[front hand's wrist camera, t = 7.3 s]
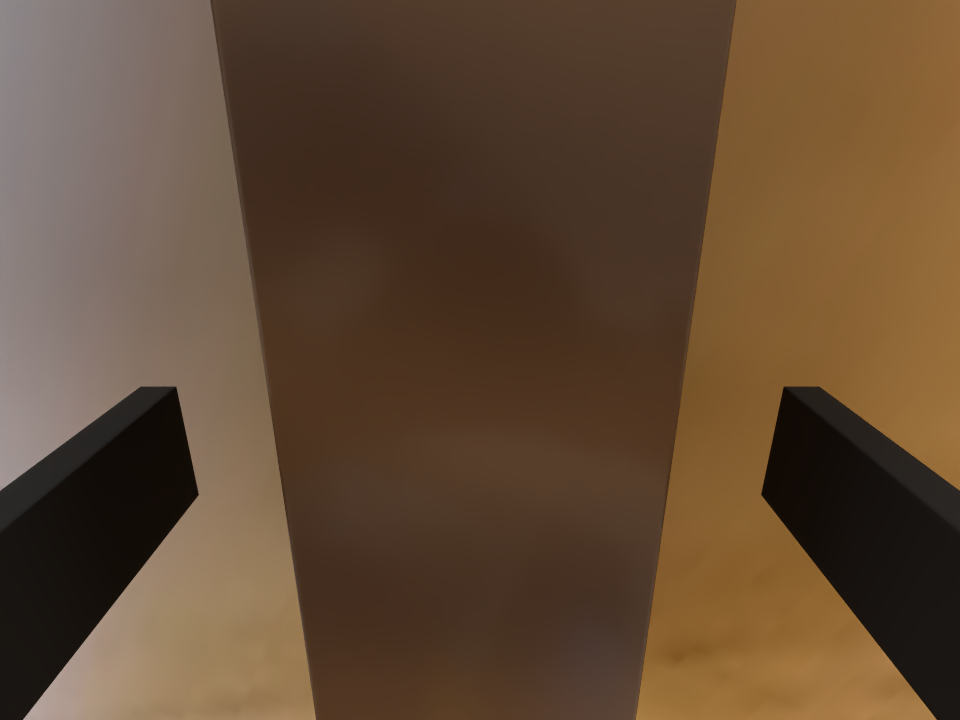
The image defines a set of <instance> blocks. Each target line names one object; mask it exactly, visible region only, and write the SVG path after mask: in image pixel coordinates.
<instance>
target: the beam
mask: <svg viewBox="0 0 960 720" xmlns="http://www.w3.org/2000/svg"><path fill="white" fill-rule="evenodd" d="M210 1H211V8H212V15H213V21H214V28H215V35H216V42H217V49H218V55H219V62H220V69H221V76H222V82H223V89H224V96H225V103H226V110H227V116H228V123H229V130H230V137H231V144H232V150H233V157H234V164H235V171H236V178H237V184H238V191H239V198H240V205H241V212H242V218H243V225H244V232H245V239H246V245H247V252H248V259H249V266H250V273H251V279H252V286H253V293H254V300H255V307H256V313H257V320H258V327H259V334H260V341H261V347H262V354H263V361H264V368H265V375H266V381H267V388H268V395H269V402H270V408H271V415H272V422H273V429H274V436H275V442H276V449H277V456H278V463H279V470H280V476H281V483H282V490H283V497H284V504H285V510H286V517H287V524H288V531H289V538H290V544H291V551H292V558H293V565H294V571H295V578H296V585H297V592H298V599H299V605H300V612H301V619H302V626H303V633H304V639H305V646H306V653H307V660H308V667H309V673H310V680H311V687H312V694H313V701H314V707H315V714H316V720H636V714H637V706H638V699H639V692H640V685H641V678H642V671H643V664H644V657H645V649H646V642H647V635H648V628H649V621H650V614H651V607H652V599H653V592H654V585H655V578H656V571H657V564H658V557H659V550H660V542H661V535H662V528H663V521H664V514H665V507H666V500H667V492H668V485H669V478H670V471H671V464H672V457H673V450H674V443H675V435H676V428H677V421H678V414H679V407H680V400H681V393H682V385H683V378H684V371H685V364H686V357H687V350H688V343H689V335H690V328H691V321H692V314H693V307H694V300H695V293H696V286H697V278H698V271H699V264H700V257H701V250H702V243H703V236H704V228H705V221H706V214H707V207H708V200H709V193H710V186H711V179H712V171H713V164H714V157H715V150H716V143H717V136H718V129H719V121H720V114H721V107H722V100H723V93H724V86H725V79H726V72H727V64H728V57H729V50H730V43H731V36H732V29H733V22H734V14H735V7H736V0H210Z"/></svg>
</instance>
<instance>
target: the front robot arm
mask: <svg viewBox="0 0 960 720" xmlns="http://www.w3.org/2000/svg"><path fill="white" fill-rule="evenodd" d="M198 495H199V494H198V489H197V484H196V479H195V474H194V470H193V465H192V460H191V455H190V450H189V446H188V441H187V436H186V431H185V426H184V422H183V417H182V412H181V407H180V402H179V398H178V393H177V388H176V387H140V388H138V389H137V390H136V391H134V392H133V393H132V394H130V395H129V396H127V397H126V398H125V399H123V400H122V401H121V402H119V403H118V404H117V405H115V406H114V407H113V408H111V409H110V410H109V411H107V412H106V413H105V414H103V415H102V416H101V417H99V418H98V419H96V420H95V421H94V422H92V423H91V424H90V425H88V426H87V427H86V428H84V429H83V430H82V431H80V432H79V433H78V434H76V435H75V436H74V437H72V438H71V439H70V440H68V441H67V442H65V443H64V444H63V445H61V446H60V447H59V448H57V449H56V450H55V451H53V452H52V453H51V454H49V455H48V456H47V457H45V458H44V459H43V460H41V461H40V462H39V463H37V464H36V465H34V466H33V467H32V468H30V469H29V470H28V471H26V472H25V473H24V474H22V475H21V476H20V477H18V478H17V479H16V480H14V481H13V482H12V483H10V484H9V485H7V486H6V487H5V488H3V489H2V490H1V491H0V720H23V719H24V718H25V716H26V715H27V714H28V713H29V711H30V710H31V709H32V707H33V706H34V705H35V704H36V702H37V701H38V700H39V698H40V697H41V696H42V695H43V693H44V692H45V691H46V690H47V688H48V687H49V686H50V684H51V683H52V682H53V681H54V679H55V678H56V677H57V675H58V674H59V673H60V672H61V670H62V669H63V668H64V667H65V665H66V664H67V663H68V661H69V660H70V659H71V658H72V656H73V655H74V654H75V652H76V651H77V650H78V649H79V647H80V646H81V645H82V643H83V642H84V641H85V640H86V638H87V637H88V636H89V635H90V633H91V632H92V631H93V629H94V628H95V627H96V626H97V624H98V623H99V622H100V620H101V619H102V618H103V617H104V615H105V614H106V613H107V612H108V610H109V609H110V608H111V606H112V605H113V604H114V603H115V601H116V600H117V599H118V597H119V596H120V595H121V594H122V592H123V591H124V590H125V588H126V587H127V586H128V585H129V583H130V582H131V581H132V580H133V578H134V577H135V576H136V574H137V573H138V572H139V571H140V569H141V568H142V567H143V565H144V564H145V563H146V562H147V560H148V559H149V558H150V557H151V555H152V554H153V553H154V551H155V550H156V549H157V548H158V546H159V545H160V544H161V542H162V541H163V540H164V539H165V537H166V536H167V535H168V533H169V532H170V531H171V530H172V528H173V527H174V526H175V525H176V523H177V522H178V521H179V519H180V518H181V517H182V516H183V514H184V513H185V512H186V510H187V509H188V508H189V507H190V505H191V504H192V503H193V502H194V500H195V499H196V498H197V496H198ZM761 495H762V496H763V498H764V499H765V500H766V502H767V503H768V504H769V505H770V507H771V508H772V509H773V510H774V512H775V513H776V514H777V516H778V517H779V518H780V519H781V521H782V522H783V523H784V525H785V526H786V527H787V528H788V530H789V531H790V532H791V533H792V535H793V536H794V537H795V539H796V540H797V541H798V542H799V544H800V545H801V546H802V548H803V549H804V550H805V551H806V553H807V554H808V555H809V557H810V558H811V559H812V560H813V562H814V563H815V564H816V565H817V567H818V568H819V569H820V571H821V572H822V573H823V574H824V576H825V577H826V578H827V580H828V581H829V582H830V583H831V585H832V586H833V587H834V588H835V590H836V591H837V592H838V594H839V595H840V596H841V597H842V599H843V600H844V601H845V603H846V604H847V605H848V606H849V608H850V609H851V610H852V612H853V613H854V614H855V615H856V617H857V618H858V619H859V620H860V622H861V623H862V624H863V626H864V627H865V628H866V629H867V631H868V632H869V633H870V635H871V636H872V637H873V638H874V640H875V641H876V642H877V643H878V645H879V646H880V647H881V649H882V650H883V651H884V652H885V654H886V655H887V656H888V658H889V659H890V660H891V661H892V663H893V664H894V665H895V667H896V668H897V669H898V670H899V672H900V673H901V674H902V675H903V677H904V678H905V679H906V681H907V682H908V683H909V684H910V686H911V687H912V688H913V690H914V691H915V692H916V693H917V695H918V696H919V697H920V698H921V700H922V701H923V702H924V704H925V705H926V706H927V707H928V709H929V710H930V711H931V713H932V714H933V715H934V716H935V718H936V719H937V720H960V491H959V490H958V489H957V488H955V487H954V486H952V485H951V484H950V483H948V482H947V481H946V480H944V479H943V478H942V477H940V476H939V475H938V474H936V473H935V472H934V471H932V470H931V469H930V468H928V467H927V466H926V465H924V464H923V463H921V462H920V461H919V460H917V459H916V458H915V457H913V456H912V455H911V454H909V453H908V452H907V451H905V450H904V449H903V448H901V447H900V446H899V445H897V444H896V443H895V442H893V441H892V440H890V439H889V438H888V437H886V436H885V435H884V434H882V433H881V432H880V431H878V430H877V429H876V428H874V427H873V426H872V425H870V424H869V423H868V422H866V421H865V420H864V419H862V418H861V417H859V416H858V415H857V414H855V413H854V412H853V411H851V410H850V409H849V408H847V407H846V406H845V405H843V404H842V403H841V402H839V401H838V400H837V399H835V398H834V397H833V396H831V395H830V394H828V393H827V392H826V391H824V390H823V389H822V388H820V387H784V388H783V393H782V398H781V402H780V407H779V412H778V417H777V422H776V426H775V431H774V436H773V441H772V446H771V450H770V455H769V460H768V465H767V470H766V474H765V479H764V484H763V489H762V494H761Z"/></svg>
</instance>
